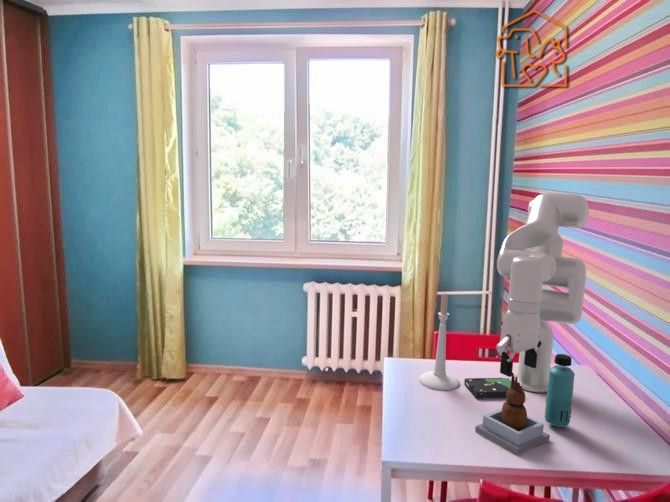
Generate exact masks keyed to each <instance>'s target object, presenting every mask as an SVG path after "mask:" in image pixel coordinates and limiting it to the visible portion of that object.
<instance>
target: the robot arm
mask: <svg viewBox="0 0 670 502" xmlns="http://www.w3.org/2000/svg"><path fill="white" fill-rule="evenodd" d="M589 216H590V208H589V204H588V201H587V199H586V198H585V197H584V196H583V195H580V194H574V193H557V192H556V193H555V192H546V193H545V192H544V193H541V194H539V195H537V196H536V197H535V198H534V199H533V200H531V201H530V202H529V203H528V206H527V220H526V223H525V224H524V225H522V226H520V227H518V228H517V229H515V230H514V231H511V232H510V233H509V234H508V235H507V236H506V237H505V238H504V240H503V241H502V243H501V247H500V250H499V253H498V256H497V261H496V269H497V273H499V275H500V276H501V277H504V278H508V279H509V289H508V300H507V301H508V302H507V310H505V314H504V316H503V321H502V326H501V332H500V339H499V343H497V344H496V346H495V347H496V350H497V355H498V356H499V359H500V365H499V366H500V368H499V373H500V374H502V375H504V376H507V377H508V378H509V377H510V378H512V373H513V370H514V369H513V368H514V361H512V360H513V358H514V357H515V355H516V354H519V357H518V367H517V368H518V369H517V374H514V380H515V379H516V377H517V379H518V382H520V386H522V390H523V391H528V392H531V393H541V394H542V393H547V391H548V381H549V370H550V368H551V364H552V356H553V355H552V354H553V346H554V331H553V329H552V327H551V326H550V324H549V323H548V322H555V323H560V324H567V325H576V324H578V323H579V322H580V320H581V318H582V314H583V306H584V297H585V291H586V290H585V288H586V279H587V268H586V264H585V262H584V261H583V260H581V259H580V258H575V257H566V256H565V257H564V256H563V247H564V241H563V238H562V236H561V235H560V233H559V227H561V228H573V229H580V228H581V229H583V227H585V226H586V225H587V223H588V220H589ZM529 249H533V250H529ZM543 286H548V287H555V288H564V289H566V290H567V291H568V292H566V291H559V290H553V289H545V288H543ZM508 352H509V354H508Z"/></svg>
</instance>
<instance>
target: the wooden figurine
mask: <svg viewBox="0 0 670 502" xmlns="http://www.w3.org/2000/svg"><path fill="white" fill-rule="evenodd" d="M514 375H515V374H514V372H512V376H511V377H510V378H511V379H510V381H511V386H510V388H509V389H508V391H507V394H506V398H505V399H506V400H505V401H504V402H503V404H502V407H501V409H502V423H503V424H505V425H507V426H509V427H511V428H513V429H515V430H516V431H521V430H523V429H524V428H525V426H526V423H527V416H528V413H527V408H526V407H525V405H524V404H525V402H526V393H525V390H524V389H522V386H520V382H518V379H517V377H516V379H515V380H514Z"/></svg>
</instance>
